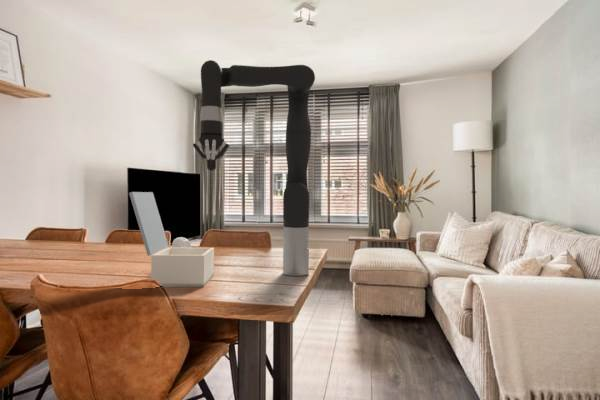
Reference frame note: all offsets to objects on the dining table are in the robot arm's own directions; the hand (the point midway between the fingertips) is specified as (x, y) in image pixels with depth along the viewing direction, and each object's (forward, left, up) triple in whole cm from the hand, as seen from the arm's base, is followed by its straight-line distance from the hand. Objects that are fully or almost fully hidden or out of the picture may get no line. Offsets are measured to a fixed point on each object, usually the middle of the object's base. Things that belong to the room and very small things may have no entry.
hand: (211, 170), depth 124 cm
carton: (+7, +7, -37) cm, 38 cm away
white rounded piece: (+13, -10, -37) cm, 41 cm away
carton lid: (+18, +7, -17) cm, 26 cm away
